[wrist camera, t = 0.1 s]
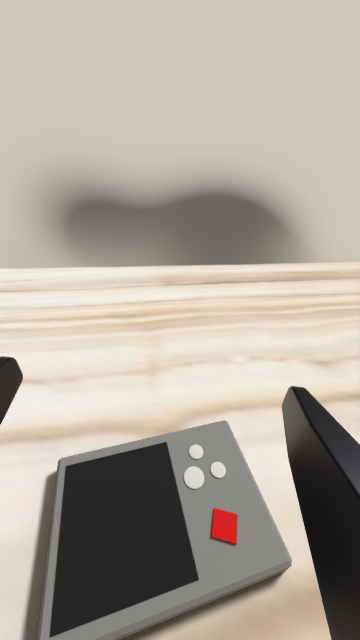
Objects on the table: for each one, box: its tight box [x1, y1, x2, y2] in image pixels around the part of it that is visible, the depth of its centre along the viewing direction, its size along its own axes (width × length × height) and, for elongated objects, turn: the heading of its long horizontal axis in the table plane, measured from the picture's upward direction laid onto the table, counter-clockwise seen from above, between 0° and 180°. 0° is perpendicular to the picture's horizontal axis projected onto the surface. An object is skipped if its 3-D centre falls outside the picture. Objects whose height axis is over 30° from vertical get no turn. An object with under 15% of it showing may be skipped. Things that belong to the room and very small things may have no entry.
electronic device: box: [37, 420, 292, 640], centre depth 19 cm, size 10×2×15 cm
